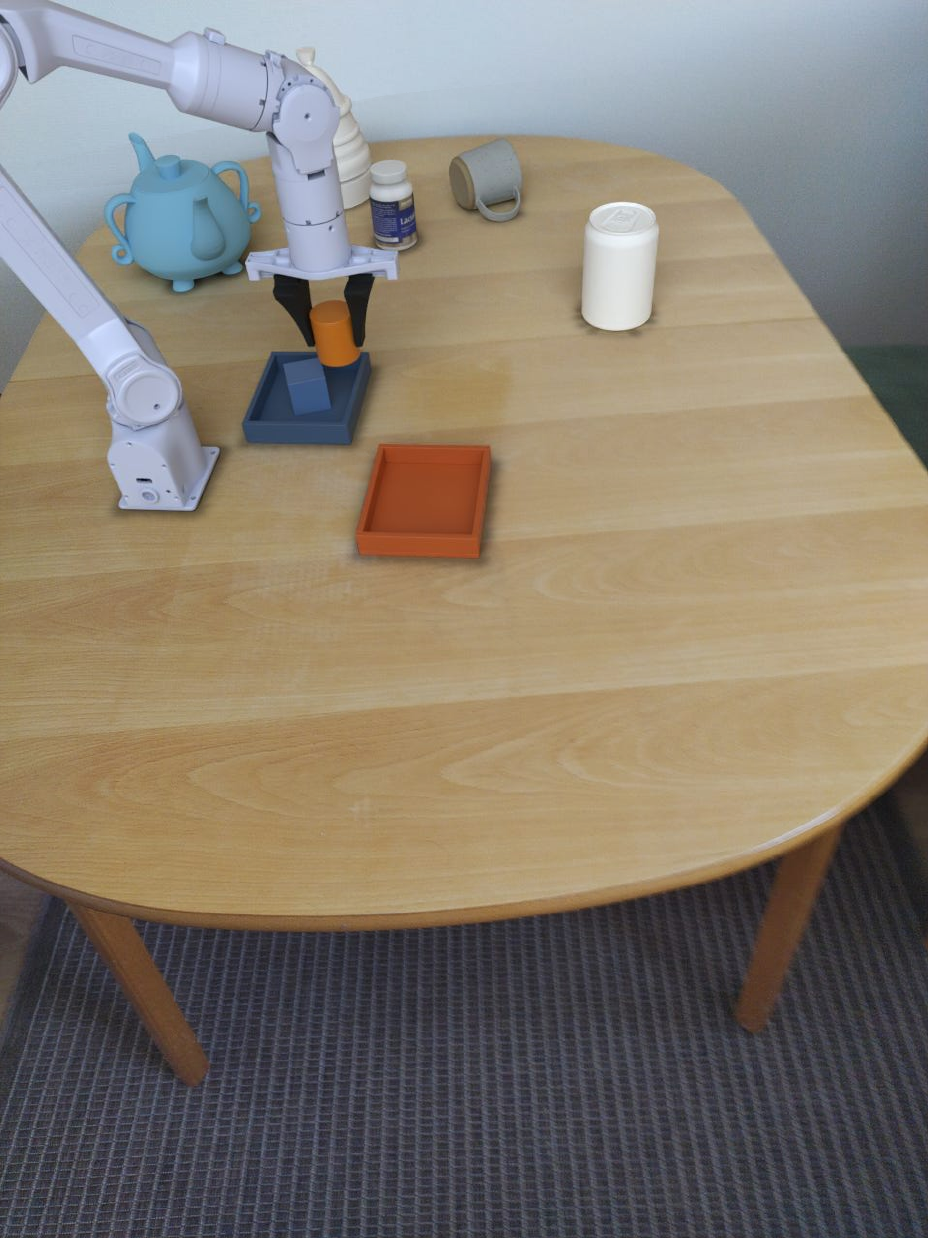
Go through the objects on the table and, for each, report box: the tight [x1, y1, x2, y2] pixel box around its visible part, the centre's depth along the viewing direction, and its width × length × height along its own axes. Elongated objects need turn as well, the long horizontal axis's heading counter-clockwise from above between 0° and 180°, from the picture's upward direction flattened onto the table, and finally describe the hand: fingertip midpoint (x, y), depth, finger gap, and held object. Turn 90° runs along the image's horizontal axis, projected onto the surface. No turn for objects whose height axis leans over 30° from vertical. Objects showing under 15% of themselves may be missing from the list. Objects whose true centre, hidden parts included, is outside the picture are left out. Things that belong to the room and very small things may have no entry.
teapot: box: [103, 131, 263, 293], centre depth 120 cm, size 16×20×14 cm
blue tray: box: [241, 350, 372, 446], centre depth 103 cm, size 13×11×2 cm
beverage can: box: [581, 201, 660, 332], centre depth 107 cm, size 8×8×12 cm
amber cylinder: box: [309, 299, 361, 367], centre depth 96 cm, size 4×4×5 cm
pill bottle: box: [369, 159, 418, 252], centre depth 123 cm, size 6×6×10 cm
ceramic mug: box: [448, 137, 524, 223], centre depth 128 cm, size 11×8×8 cm
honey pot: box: [295, 46, 373, 211], centre depth 131 cm, size 13×13×18 cm
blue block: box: [283, 358, 331, 416], centre depth 102 cm, size 4×4×4 cm
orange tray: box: [355, 443, 492, 559], centre depth 90 cm, size 13×11×2 cm
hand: (337, 341), depth 96 cm, fingers closed on amber cylinder, 4 cm apart
